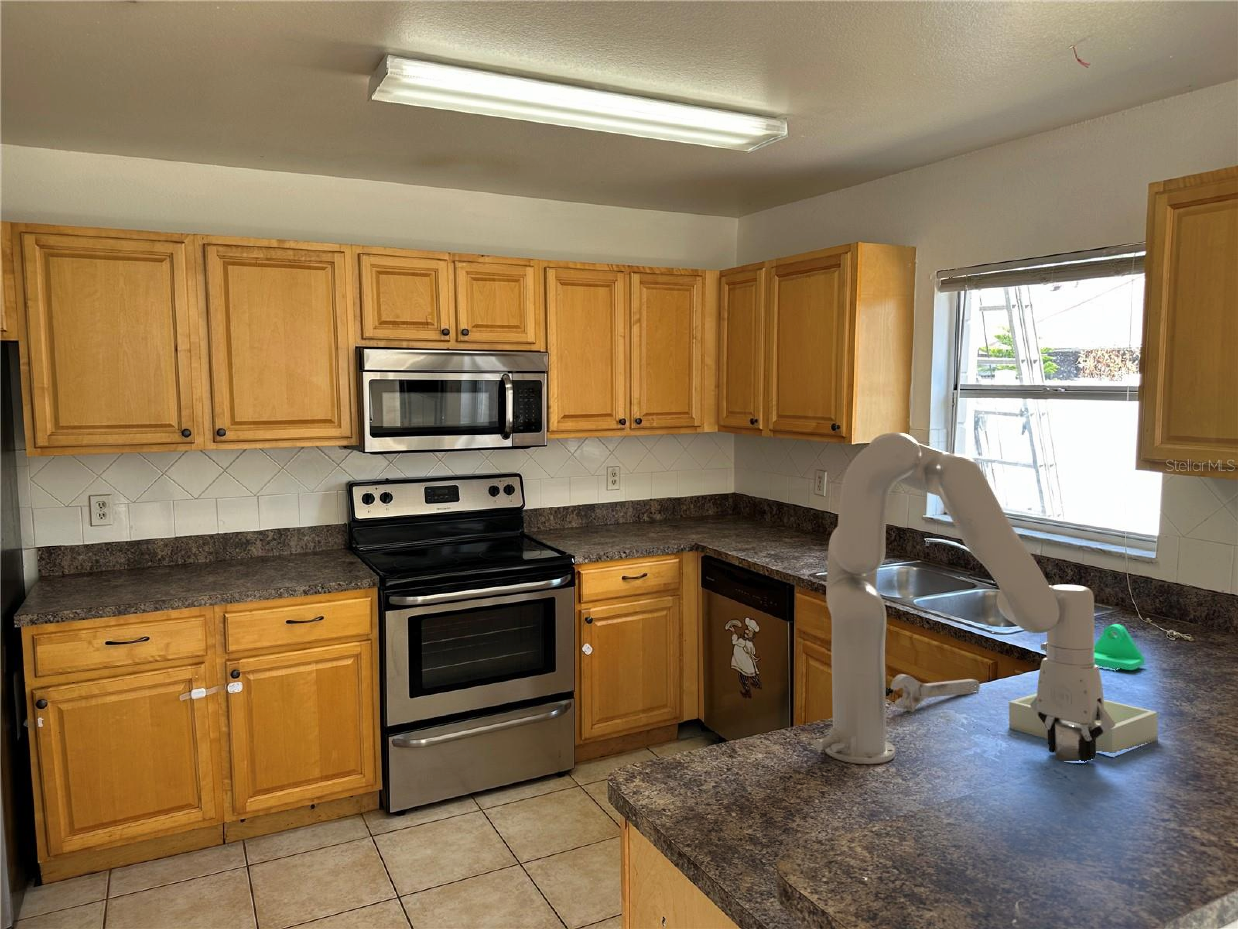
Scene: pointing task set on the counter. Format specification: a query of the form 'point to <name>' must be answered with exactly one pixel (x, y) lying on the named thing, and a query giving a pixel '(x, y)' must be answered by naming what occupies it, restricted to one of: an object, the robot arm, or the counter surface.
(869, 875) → the counter surface
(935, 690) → the wrench
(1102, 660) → the camera mount
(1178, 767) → the counter surface
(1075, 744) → the tea tin
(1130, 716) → the crate
